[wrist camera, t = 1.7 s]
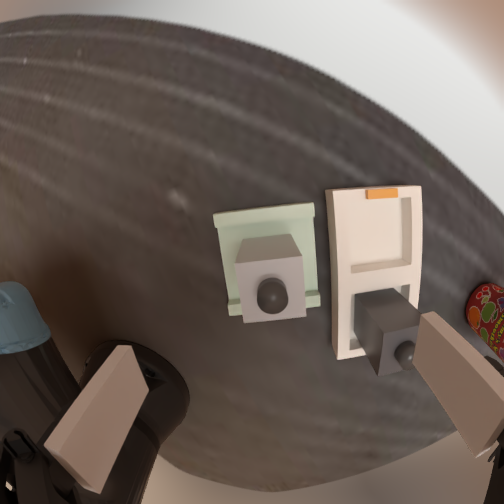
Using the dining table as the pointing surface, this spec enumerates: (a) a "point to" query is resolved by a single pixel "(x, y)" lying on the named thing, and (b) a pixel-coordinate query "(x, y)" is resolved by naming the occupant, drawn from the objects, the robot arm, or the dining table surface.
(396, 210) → the cream rectangular tray
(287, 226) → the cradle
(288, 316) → the plug
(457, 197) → the dining table surface
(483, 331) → the smoothie
